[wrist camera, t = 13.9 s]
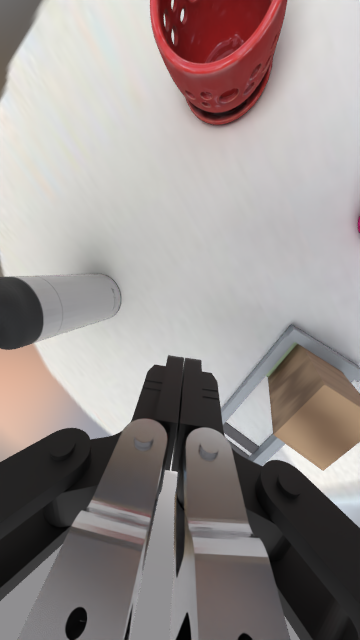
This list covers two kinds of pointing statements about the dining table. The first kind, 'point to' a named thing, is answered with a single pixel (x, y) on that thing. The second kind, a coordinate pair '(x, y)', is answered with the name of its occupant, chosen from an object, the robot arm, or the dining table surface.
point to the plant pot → (218, 51)
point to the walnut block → (314, 407)
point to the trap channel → (265, 369)
